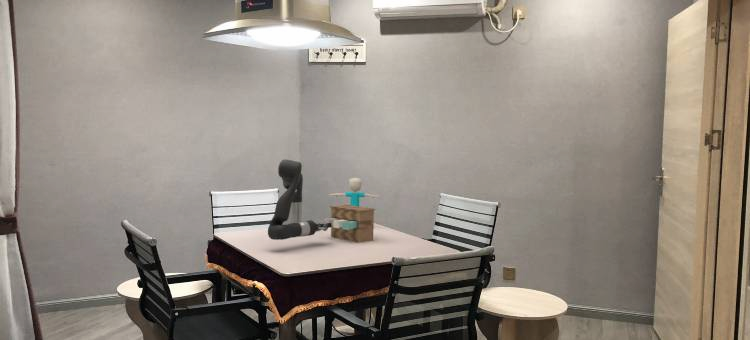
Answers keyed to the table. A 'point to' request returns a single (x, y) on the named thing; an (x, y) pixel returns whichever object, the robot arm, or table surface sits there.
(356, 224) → the teal key
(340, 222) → the ivory key
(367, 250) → the table surface
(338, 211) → the console
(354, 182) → the toy
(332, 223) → the grey key
